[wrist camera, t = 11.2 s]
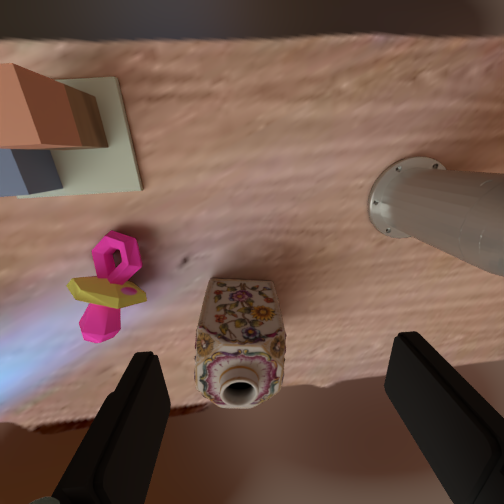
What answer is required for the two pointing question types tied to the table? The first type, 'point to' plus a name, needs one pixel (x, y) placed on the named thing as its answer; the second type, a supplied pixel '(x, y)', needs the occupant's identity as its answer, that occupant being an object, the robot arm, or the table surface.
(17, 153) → the blue-gray block
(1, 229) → the table surface
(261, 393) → the decorative jar
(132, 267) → the toy
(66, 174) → the board
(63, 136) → the terracotta block
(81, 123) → the walnut block
